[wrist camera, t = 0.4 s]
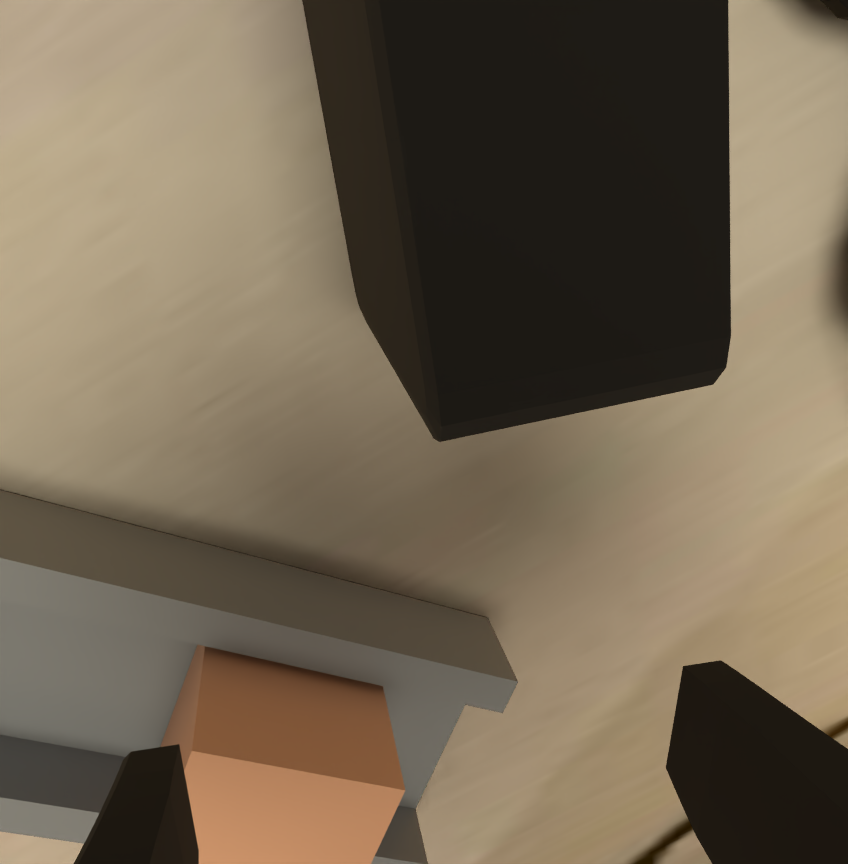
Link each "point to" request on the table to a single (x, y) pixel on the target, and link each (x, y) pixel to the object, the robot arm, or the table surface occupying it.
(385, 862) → the trough
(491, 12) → the electronic device
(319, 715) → the block
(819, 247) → the table surface
